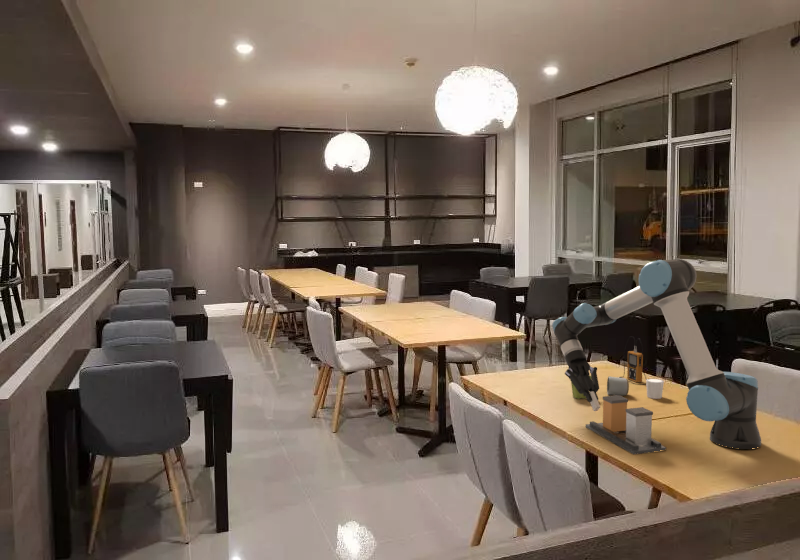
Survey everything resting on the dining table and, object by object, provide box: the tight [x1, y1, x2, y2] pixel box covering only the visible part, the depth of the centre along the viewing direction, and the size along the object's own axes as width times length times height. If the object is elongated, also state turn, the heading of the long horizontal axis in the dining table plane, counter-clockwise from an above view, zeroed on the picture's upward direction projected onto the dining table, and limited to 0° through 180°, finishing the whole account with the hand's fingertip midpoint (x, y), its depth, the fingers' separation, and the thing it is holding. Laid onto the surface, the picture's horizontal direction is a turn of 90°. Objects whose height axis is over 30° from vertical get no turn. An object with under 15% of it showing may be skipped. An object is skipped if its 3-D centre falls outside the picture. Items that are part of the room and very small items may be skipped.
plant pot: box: [569, 375, 591, 400], centre depth 272 cm, size 9×9×9 cm
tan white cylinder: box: [645, 378, 665, 400], centre depth 272 cm, size 7×7×7 cm
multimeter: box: [618, 336, 647, 386], centre depth 297 cm, size 15×10×20 cm
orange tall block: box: [602, 395, 629, 432], centre depth 227 cm, size 5×6×11 cm
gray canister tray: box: [585, 406, 667, 455], centre depth 222 cm, size 28×12×12 cm, turn 16°
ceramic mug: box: [606, 376, 630, 397], centre depth 277 cm, size 11×8×8 cm
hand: (597, 409), depth 237 cm, fingers closed
